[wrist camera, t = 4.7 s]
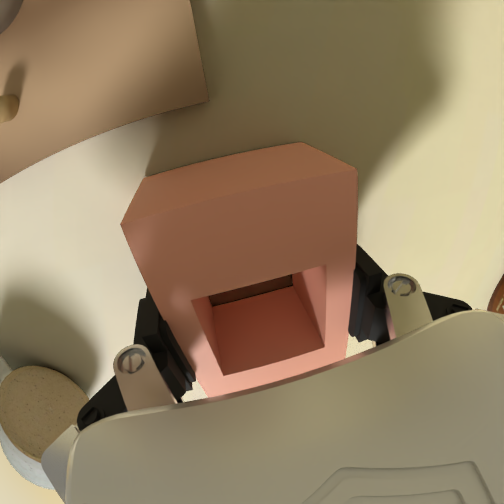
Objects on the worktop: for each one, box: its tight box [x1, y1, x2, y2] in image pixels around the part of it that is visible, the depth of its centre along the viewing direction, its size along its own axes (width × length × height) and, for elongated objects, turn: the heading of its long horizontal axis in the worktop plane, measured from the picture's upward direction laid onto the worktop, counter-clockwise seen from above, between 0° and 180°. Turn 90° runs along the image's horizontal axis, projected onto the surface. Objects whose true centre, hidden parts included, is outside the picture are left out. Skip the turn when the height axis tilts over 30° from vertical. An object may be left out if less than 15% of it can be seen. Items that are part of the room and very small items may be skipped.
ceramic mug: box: [0, 356, 89, 490], centre depth 11 cm, size 11×8×8 cm
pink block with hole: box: [120, 142, 358, 398], centre depth 11 cm, size 9×6×4 cm, turn 9°
